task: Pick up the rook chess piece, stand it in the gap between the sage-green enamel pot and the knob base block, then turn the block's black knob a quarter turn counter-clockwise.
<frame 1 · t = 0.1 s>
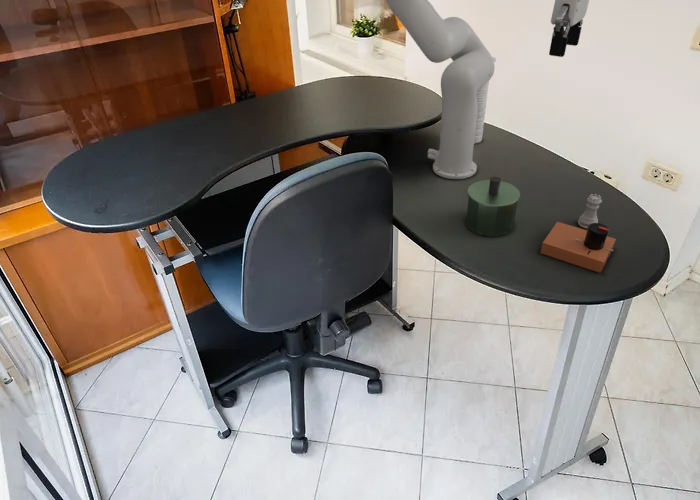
hand: (563, 50, 114), 37 cm above the table, tool pointing down, fingers open, 9 cm apart
stove knob: (596, 235, 109), point 5 cm above the table, hinge at 0.0°
pot: (489, 223, 124), on the table
knob base block: (576, 251, 114), on the table
rook chess piece: (587, 225, 122), on the table
pot lid: (493, 194, 119), point 8 cm above the table, touching pot
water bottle: (474, 139, 163), on the table
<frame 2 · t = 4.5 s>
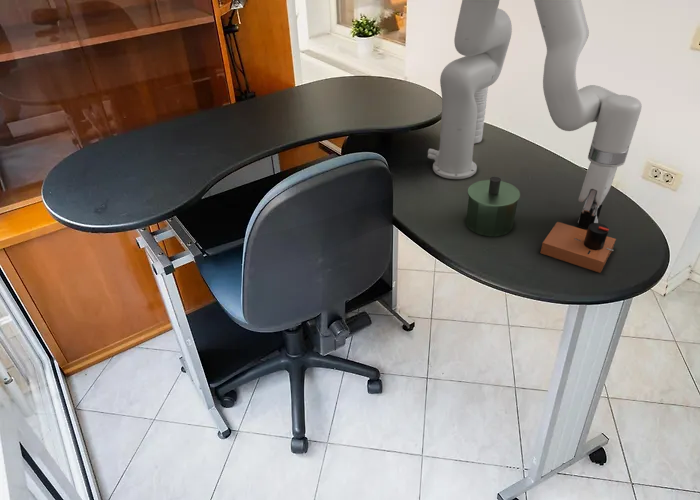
hand: (588, 221, 121), 1 cm above the table, tool pointing down, fingers closed on rook chess piece, 4 cm apart
rook chess piece: (587, 225, 122), on the table, touching gripper
everything else where it was.
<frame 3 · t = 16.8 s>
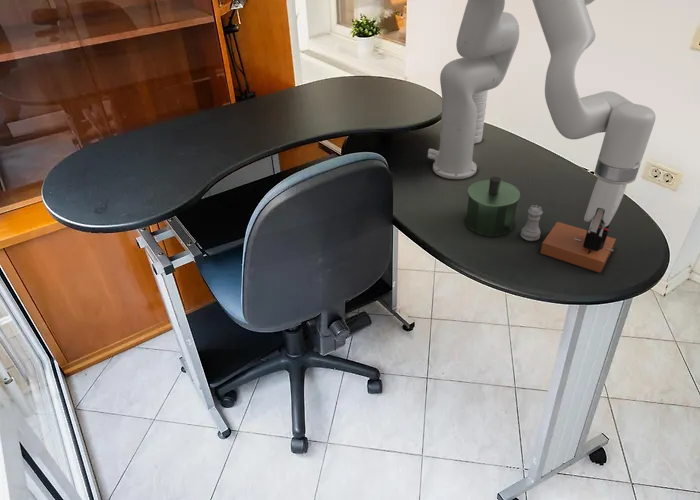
hand: (594, 242, 110), 4 cm above the table, tool pointing down, fingers closed on stove knob, 4 cm apart
stove knob: (596, 235, 109), point 5 cm above the table, hinge at -0.1°, touching gripper
rook chess piece: (529, 237, 119), on the table
everything else where it was.
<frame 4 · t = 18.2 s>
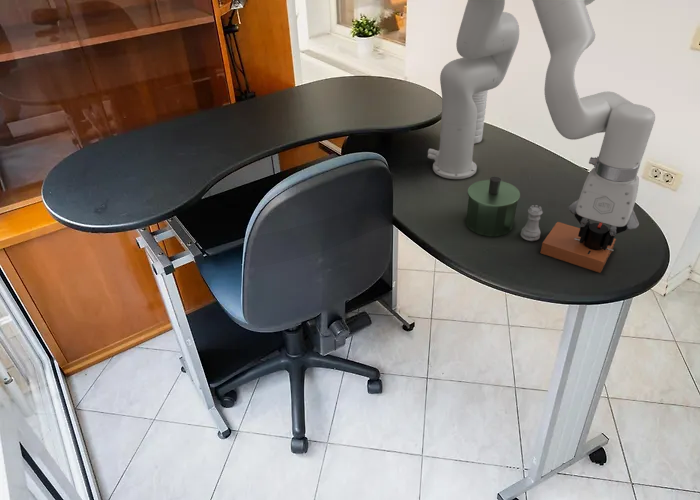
hand: (594, 242, 110), 4 cm above the table, tool pointing down, fingers closed on stove knob, 4 cm apart
stove knob: (596, 235, 109), point 5 cm above the table, hinge at 91.0°, touching gripper
everything else where it was.
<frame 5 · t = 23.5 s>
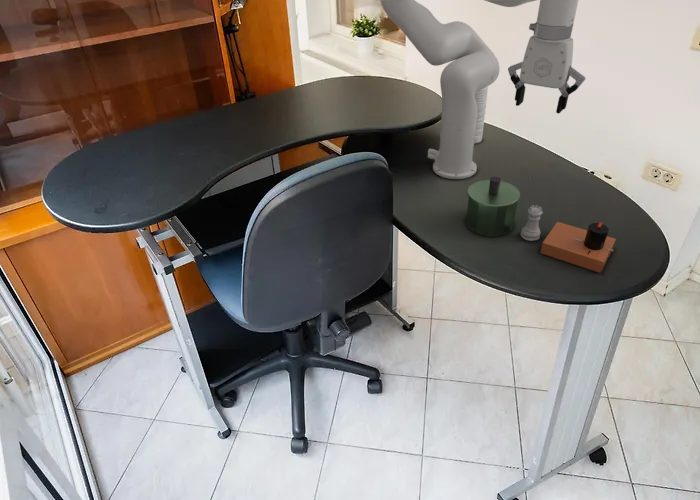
hand: (539, 107, 119), 24 cm above the table, tool pointing down, fingers open, 9 cm apart
stove knob: (596, 235, 109), point 5 cm above the table, hinge at 91.9°
everything else where it was.
at the end: rook chess piece inside the target area (0.1 cm from its centre), on the table; rook chess piece tilted 0°; stove knob at +92° (first picture: +0°) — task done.
